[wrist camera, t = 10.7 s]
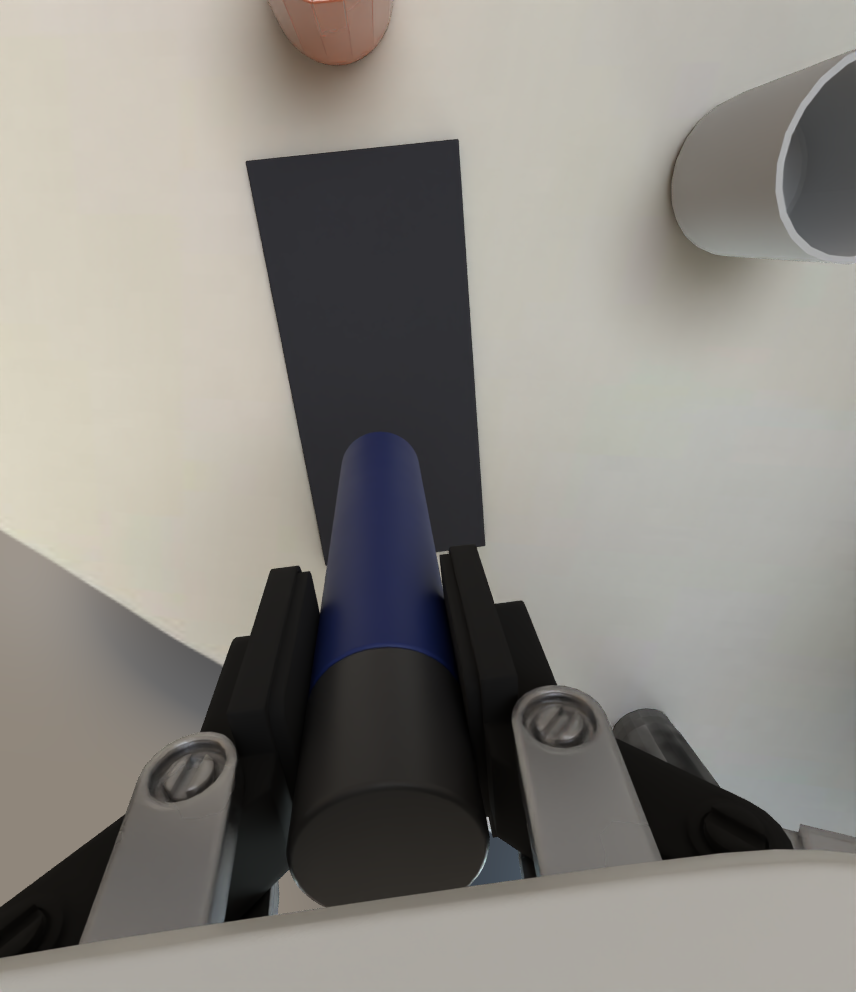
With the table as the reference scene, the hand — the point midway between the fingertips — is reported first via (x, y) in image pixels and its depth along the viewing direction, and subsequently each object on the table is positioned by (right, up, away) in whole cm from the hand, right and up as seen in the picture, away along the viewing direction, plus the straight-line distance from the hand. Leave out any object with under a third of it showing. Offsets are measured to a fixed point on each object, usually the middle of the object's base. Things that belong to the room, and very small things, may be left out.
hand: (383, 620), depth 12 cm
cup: (+17, +20, +17) cm, 31 cm away
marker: (-1, +4, +8) cm, 9 cm away
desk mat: (-2, +9, +20) cm, 22 cm away
